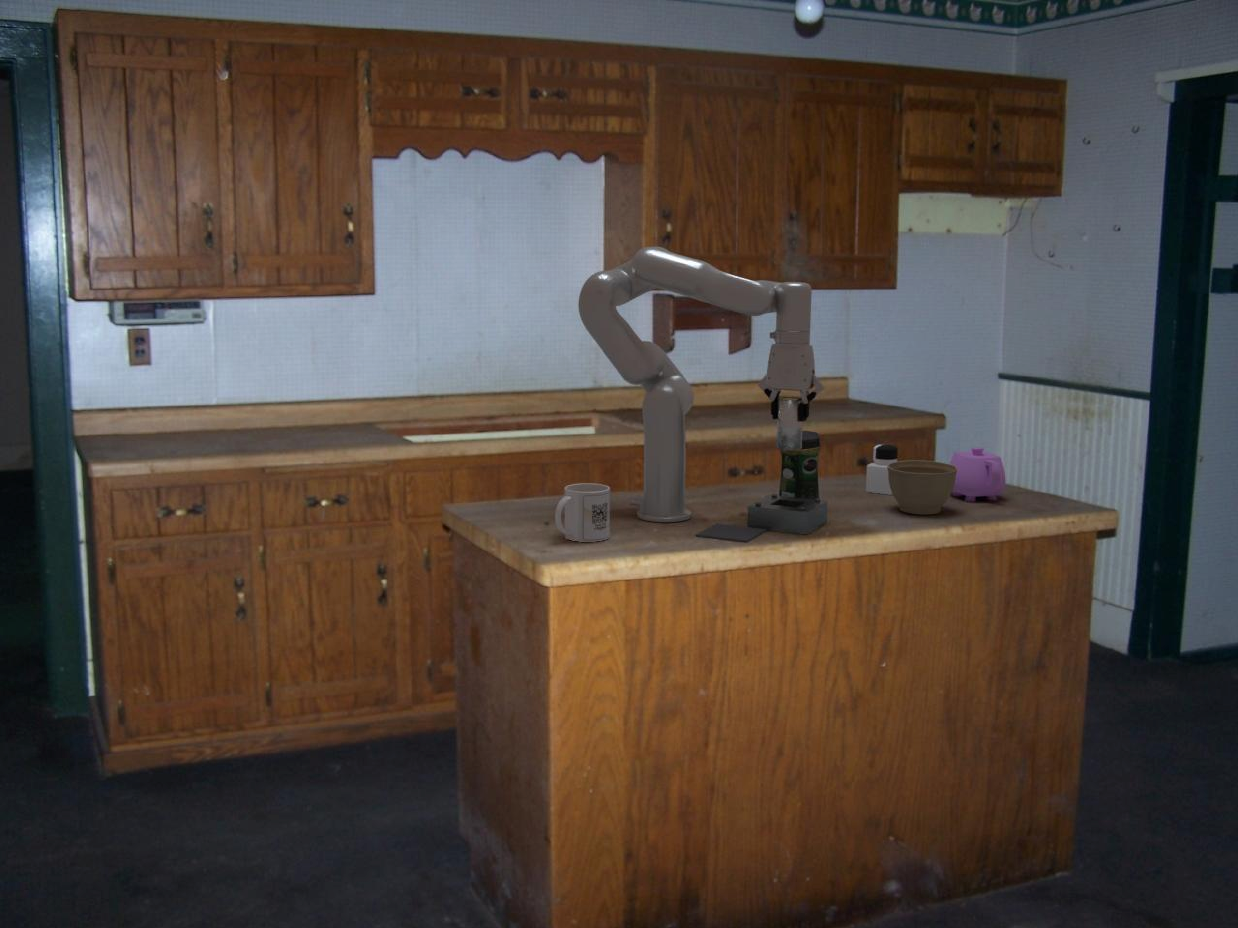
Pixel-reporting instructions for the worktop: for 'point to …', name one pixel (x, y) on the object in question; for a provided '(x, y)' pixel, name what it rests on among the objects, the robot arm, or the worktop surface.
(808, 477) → the coffee jar
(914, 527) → the worktop surface
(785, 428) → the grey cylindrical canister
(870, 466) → the medicine bottle
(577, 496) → the mug
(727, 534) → the rubber mat
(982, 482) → the teapot
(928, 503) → the planter bowl
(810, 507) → the housing
